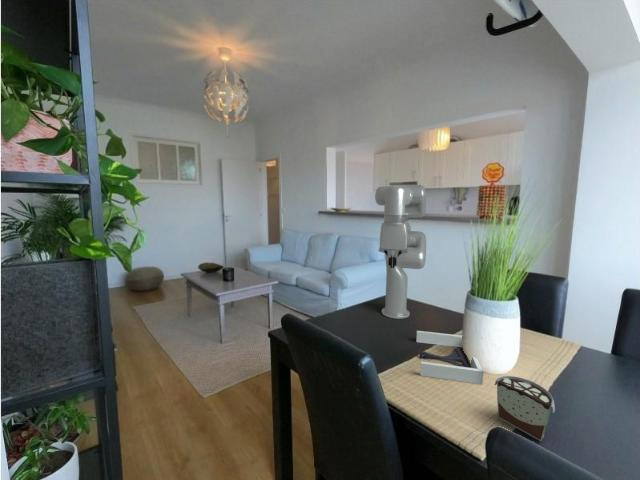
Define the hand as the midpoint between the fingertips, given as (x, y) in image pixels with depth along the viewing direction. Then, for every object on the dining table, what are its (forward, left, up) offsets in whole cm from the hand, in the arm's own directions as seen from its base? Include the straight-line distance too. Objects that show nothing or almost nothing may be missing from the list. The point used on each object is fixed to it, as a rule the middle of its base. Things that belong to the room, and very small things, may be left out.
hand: (392, 267), depth 117 cm
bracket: (+15, +18, -28) cm, 36 cm away
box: (+15, +18, -27) cm, 36 cm away
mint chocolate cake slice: (+41, +33, -27) cm, 59 cm away
